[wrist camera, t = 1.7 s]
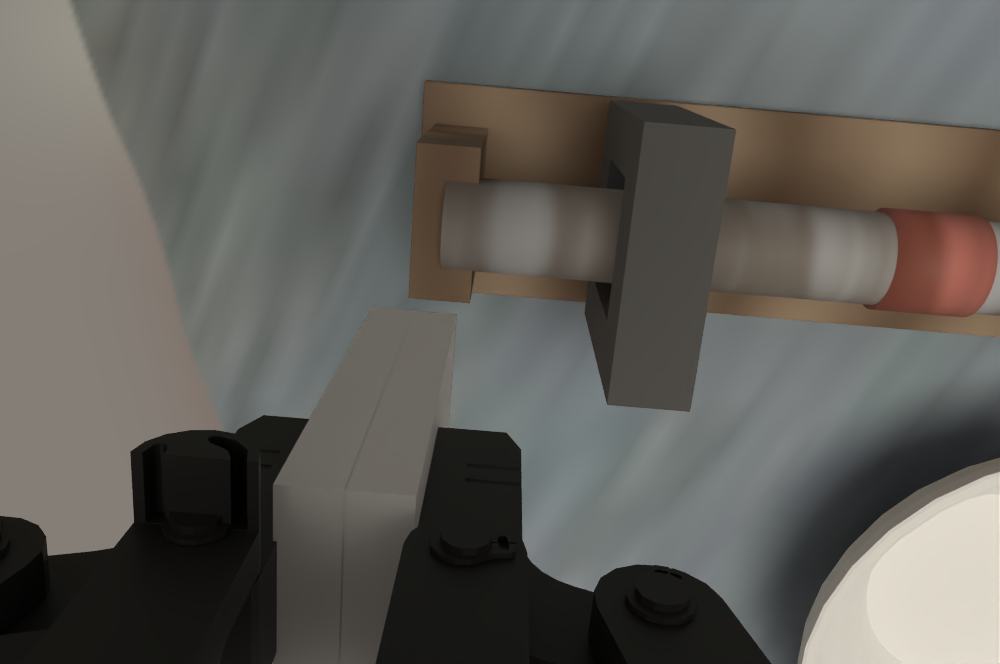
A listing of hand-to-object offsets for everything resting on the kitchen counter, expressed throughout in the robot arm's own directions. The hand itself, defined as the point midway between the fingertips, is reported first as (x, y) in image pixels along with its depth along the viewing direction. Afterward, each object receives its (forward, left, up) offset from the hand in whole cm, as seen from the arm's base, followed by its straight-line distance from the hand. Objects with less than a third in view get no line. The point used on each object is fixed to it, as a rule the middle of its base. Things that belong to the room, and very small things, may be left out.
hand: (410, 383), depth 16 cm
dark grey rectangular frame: (0, +6, -18) cm, 19 cm away
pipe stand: (0, +11, -20) cm, 23 cm away
